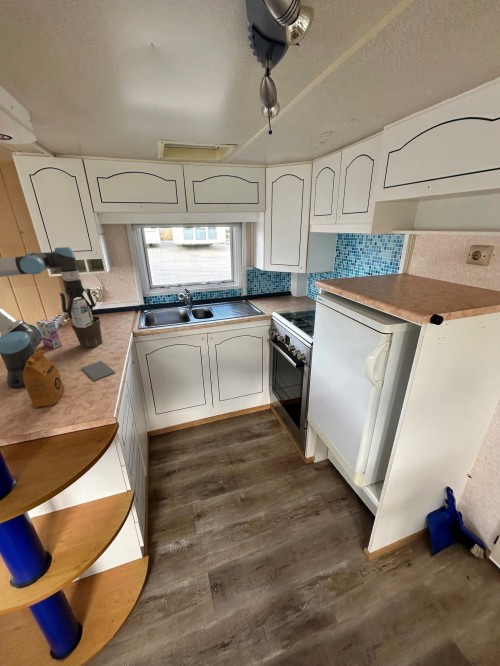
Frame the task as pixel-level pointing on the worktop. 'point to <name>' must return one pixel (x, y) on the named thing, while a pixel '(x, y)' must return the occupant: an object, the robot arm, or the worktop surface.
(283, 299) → the worktop surface
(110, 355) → the worktop surface
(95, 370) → the rubber mat
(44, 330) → the candy bar box
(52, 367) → the coffee package
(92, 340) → the plant pot
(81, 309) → the syrup box
